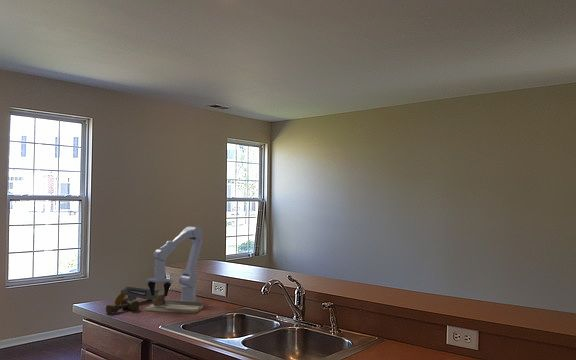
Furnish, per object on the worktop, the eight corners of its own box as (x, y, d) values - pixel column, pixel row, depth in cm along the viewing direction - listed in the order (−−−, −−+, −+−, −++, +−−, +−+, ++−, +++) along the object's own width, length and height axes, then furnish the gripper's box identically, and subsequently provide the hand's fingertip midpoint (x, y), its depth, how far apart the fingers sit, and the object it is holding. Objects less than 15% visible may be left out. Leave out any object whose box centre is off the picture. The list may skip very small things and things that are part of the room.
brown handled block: (157, 303, 274) (158, 293, 274) (164, 303, 273) (164, 294, 273) (149, 307, 264) (149, 297, 264) (156, 307, 263) (156, 297, 263)
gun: (151, 315, 289) (160, 290, 293) (115, 305, 273) (125, 278, 277) (148, 314, 291) (157, 289, 295) (112, 304, 275) (122, 278, 279)
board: (155, 305, 276) (156, 299, 276) (203, 308, 271) (203, 301, 271) (145, 310, 263) (145, 304, 263) (194, 313, 258) (194, 306, 258)
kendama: (102, 313, 257) (134, 306, 273) (113, 317, 251) (145, 309, 267) (102, 302, 257) (134, 295, 273) (113, 305, 251) (145, 298, 267)
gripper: (144, 271, 269) (143, 296, 269) (169, 272, 266) (168, 297, 266) (150, 269, 276) (149, 294, 275) (174, 270, 273) (173, 295, 273)
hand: (159, 295), depth 271 cm, fingers open, 7 cm apart
